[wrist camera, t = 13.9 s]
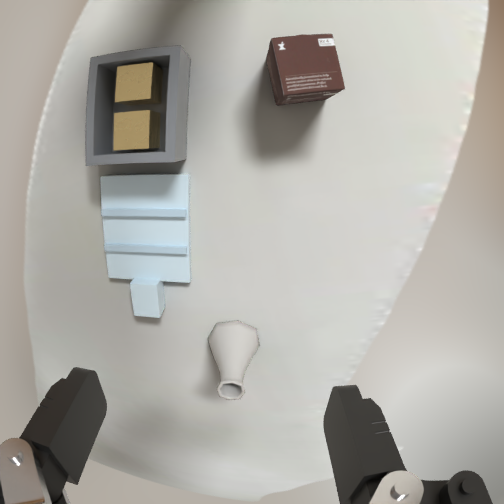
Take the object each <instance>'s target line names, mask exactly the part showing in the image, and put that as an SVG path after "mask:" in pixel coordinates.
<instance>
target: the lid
mask: <svg viewBox="0 0 504 504" xmlns="http://www.w3.org/2000/svg"><path fill="white" fill-rule="evenodd" d="M100 183H101V204H102V209H101V216H102V219H103V231H104V242H105V244H104V249H105V251H106V260H107V268H108V275H109V278H120V279H133V280H132V282H131V283H130V289H131V297H132V304H133V311H134V316H145V317H156V318H160V317H161V315H162V312H163V310H164V308H165V296H164V284H163V281H168V282H187V283H190V281H191V279H192V277H191V242H190V174H136V175H109V176H101V177H100Z"/></svg>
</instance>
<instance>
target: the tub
mask: <svg viewBox="0 0 504 504" xmlns="http://www.w3.org/2000/svg"><path fill="white" fill-rule="evenodd" d="M151 62H153V63H155V64H156V65H157V66H158V67H160V68H161V69H162V70H163V80H162V96H161V103H155V104H142V105H130V106H128V105H124V104H120V103H116V102H115V91H116V78H117V67H119V66H126V65H134V64H142V63H151ZM190 63H191V59H190V57H189V56H188V54H187V53H186V52H185V50H184V49H183V47H182V46H181V45H179V46H166V47H156V48H147V49H139V50H131V51H125V52H118V53H113V54H107V55H102V56H97V57H92V58H91V59H90V68H89V78H88V91H87V107H86V166H91V165H107V164H126V163H154V162H177V161H181V160H185V159H186V144H187V115H188V94H189V77H190ZM142 110H152V111H155V112H158V113H161V117H160V148H149V149H128V150H114V113H120V112H130V111H142Z"/></svg>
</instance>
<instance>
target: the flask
mask: <svg viewBox="0 0 504 504" xmlns="http://www.w3.org/2000/svg"><path fill="white" fill-rule="evenodd" d="M208 340H209V344H210V347H211V351H212V354H213V357H214V359H215V361H216V363H217V366H218V368H219V371H220V384H219V385H218V387H217V391H218V394H219V397H222V398H225V399H228V400H236V399H240V398H241V397H242V396H243V395H244V393H245V389H244V385H243V378H244V375H245V371H246V369H247V367H248V365H249V364H250V362H251V360H252V358H253V356H254V355H255V353H256V351H257V350H258V348H259V346H260V344H259V338H258V333H257V329H256V328H254V327H251V326H249V325H247V324H245V323H242V322H240V321H230V322H222V323H216V325H215V327H214V328H213V330H212V332H211V334H210V335H209V337H208Z"/></svg>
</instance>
